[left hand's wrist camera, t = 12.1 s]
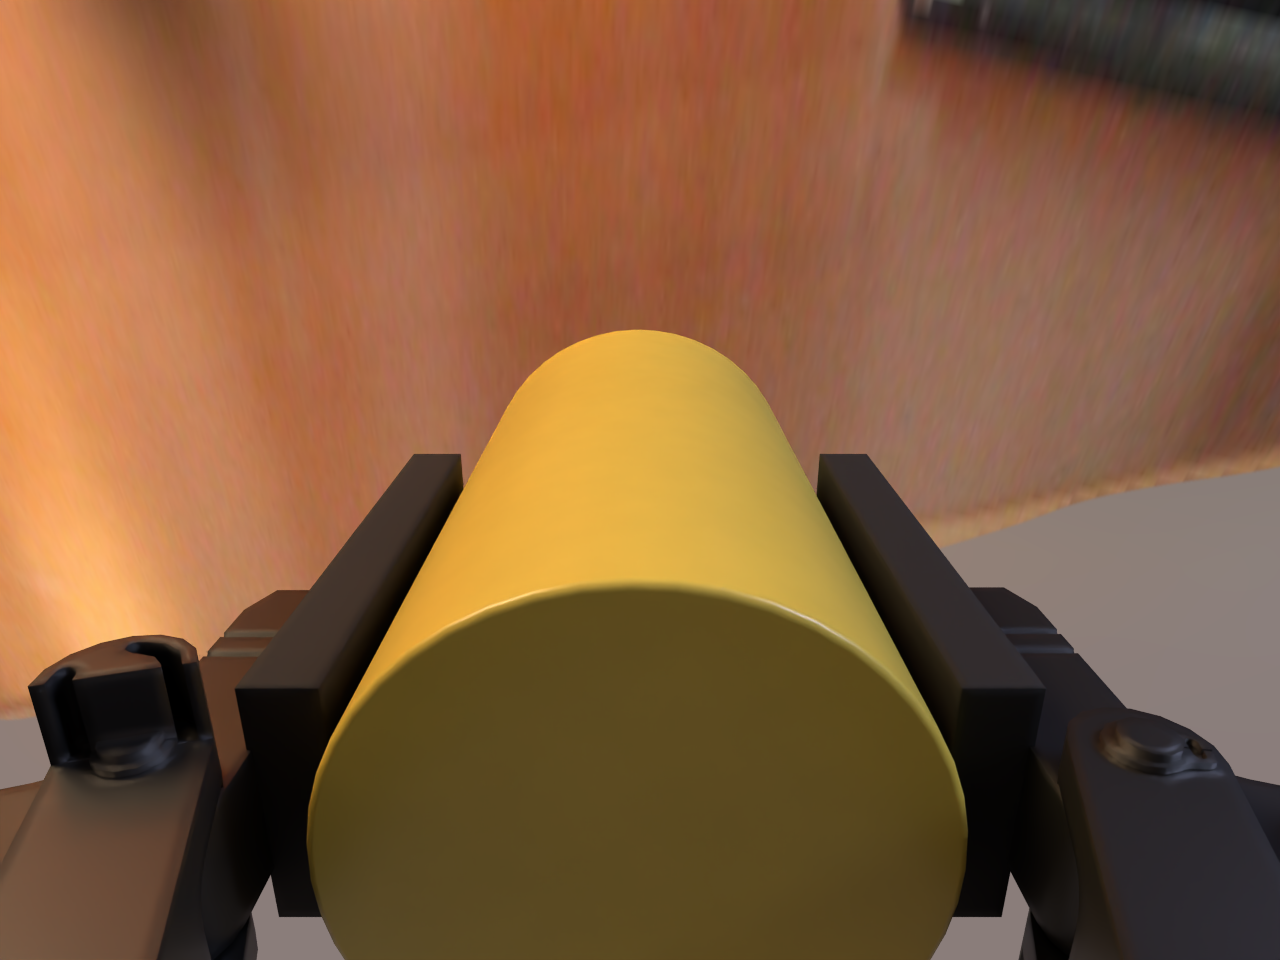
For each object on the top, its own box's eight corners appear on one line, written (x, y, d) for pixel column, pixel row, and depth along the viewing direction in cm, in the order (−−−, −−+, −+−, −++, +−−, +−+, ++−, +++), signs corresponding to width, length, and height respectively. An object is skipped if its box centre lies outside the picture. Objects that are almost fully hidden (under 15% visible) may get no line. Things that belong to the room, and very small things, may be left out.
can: (593, 645, 18) (543, 1174, 9) (435, 426, 17) (160, 786, 7) (833, 518, 17) (1072, 960, 8) (692, 269, 16) (775, 446, 6)
